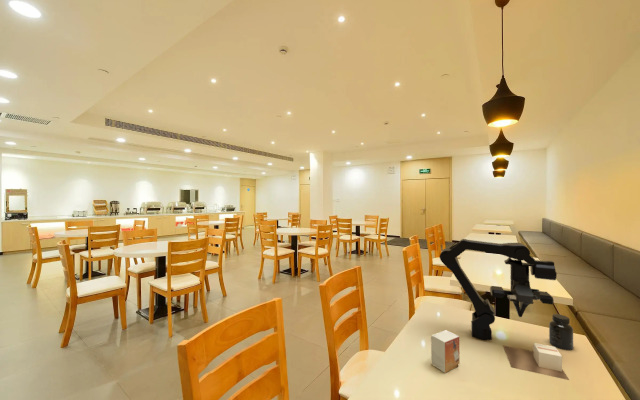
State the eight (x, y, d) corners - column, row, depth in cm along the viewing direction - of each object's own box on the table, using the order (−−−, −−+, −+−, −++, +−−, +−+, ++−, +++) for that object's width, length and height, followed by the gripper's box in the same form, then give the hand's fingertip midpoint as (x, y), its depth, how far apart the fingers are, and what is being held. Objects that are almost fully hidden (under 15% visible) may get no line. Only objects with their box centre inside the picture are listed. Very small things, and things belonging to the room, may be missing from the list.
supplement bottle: (578, 353, 96) (578, 321, 96) (556, 352, 98) (556, 320, 97) (564, 343, 103) (564, 313, 103) (544, 341, 104) (544, 312, 104)
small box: (444, 373, 87) (444, 342, 87) (430, 364, 92) (430, 334, 92) (460, 366, 91) (459, 336, 91) (445, 357, 96) (445, 329, 96)
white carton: (539, 366, 88) (538, 351, 88) (533, 356, 93) (533, 342, 93) (562, 371, 85) (562, 356, 85) (555, 361, 91) (555, 346, 91)
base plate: (511, 370, 88) (511, 367, 88) (502, 347, 101) (502, 345, 101) (569, 383, 82) (569, 380, 82) (552, 357, 94) (552, 354, 94)
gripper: (494, 279, 97) (494, 321, 97) (559, 286, 89) (559, 331, 89) (489, 271, 107) (490, 309, 107) (547, 276, 99) (548, 317, 99)
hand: (519, 316), depth 101 cm, fingers closed
